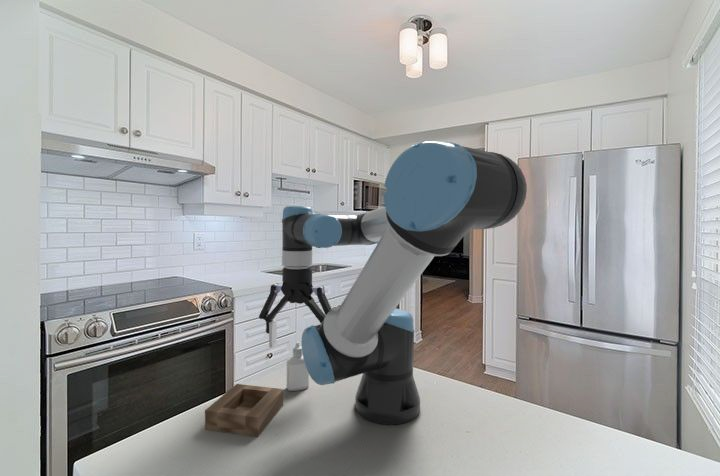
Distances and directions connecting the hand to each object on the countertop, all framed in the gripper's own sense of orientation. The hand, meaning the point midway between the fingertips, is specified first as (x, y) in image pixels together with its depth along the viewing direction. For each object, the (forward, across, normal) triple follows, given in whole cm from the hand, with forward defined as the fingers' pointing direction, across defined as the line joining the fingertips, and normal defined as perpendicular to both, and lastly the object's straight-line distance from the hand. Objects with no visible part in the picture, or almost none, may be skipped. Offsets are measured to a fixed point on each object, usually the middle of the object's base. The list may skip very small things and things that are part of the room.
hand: (297, 348), depth 90 cm
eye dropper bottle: (+11, 0, 0) cm, 11 cm away
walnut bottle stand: (+10, +6, +15) cm, 19 cm away
